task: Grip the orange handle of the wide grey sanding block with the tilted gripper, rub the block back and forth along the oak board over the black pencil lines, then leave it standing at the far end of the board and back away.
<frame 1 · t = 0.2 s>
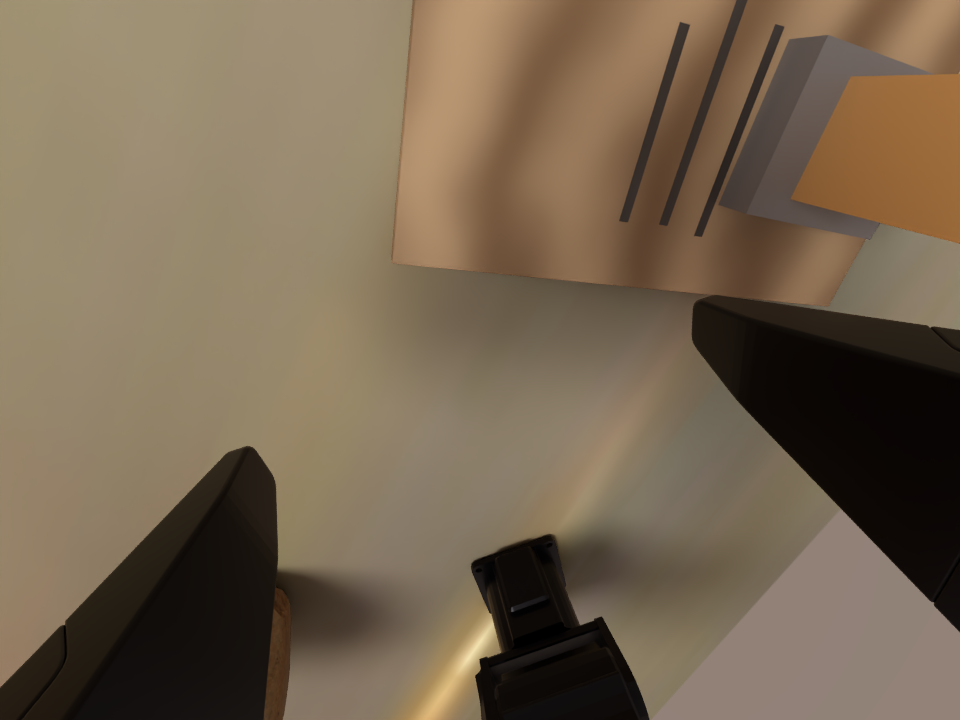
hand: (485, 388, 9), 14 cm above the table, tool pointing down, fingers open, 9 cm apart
board: (686, 119, 22), on the table
bread loaf: (211, 601, 31), on the table
sanding block: (815, 145, 23), point 1 cm above the table, touching board
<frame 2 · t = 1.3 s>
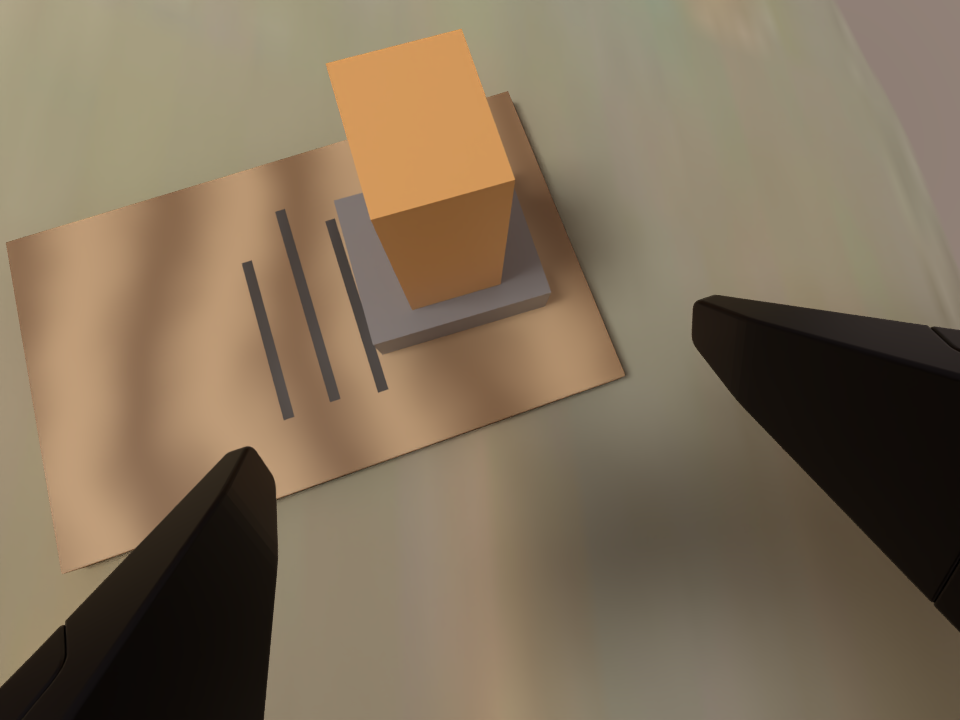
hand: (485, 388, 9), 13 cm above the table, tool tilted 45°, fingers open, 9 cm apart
board: (315, 313, 23), on the table
sanding block: (443, 263, 23), point 1 cm above the table, touching board
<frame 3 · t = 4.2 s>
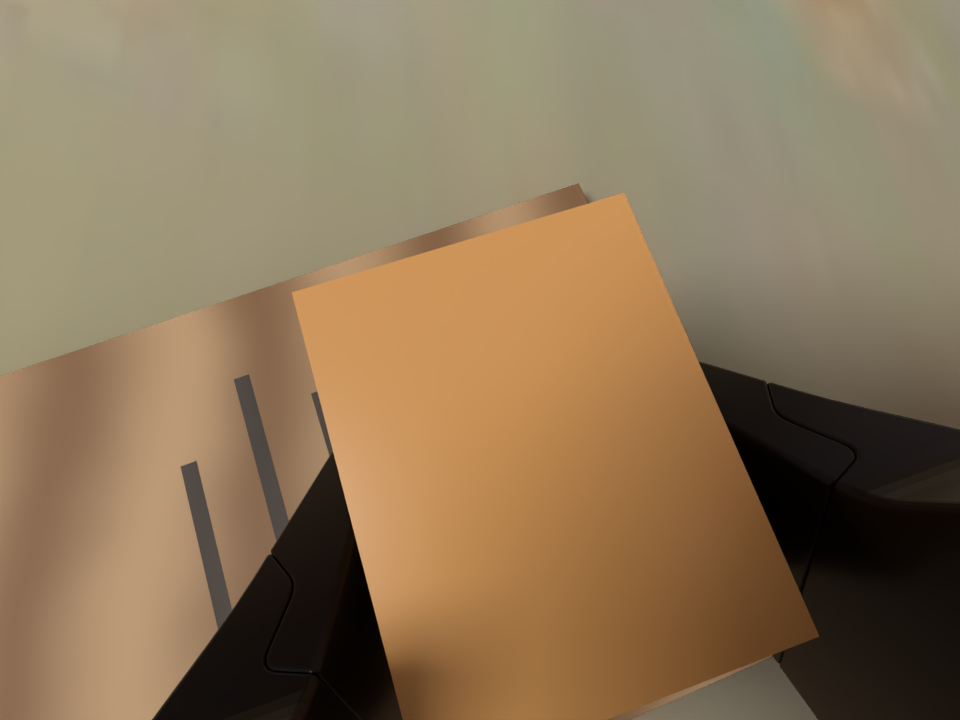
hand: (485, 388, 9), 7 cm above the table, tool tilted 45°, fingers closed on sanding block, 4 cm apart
board: (297, 534, 15), on the table
sanding block: (495, 459, 15), point 1 cm above the table, touching board, gripper
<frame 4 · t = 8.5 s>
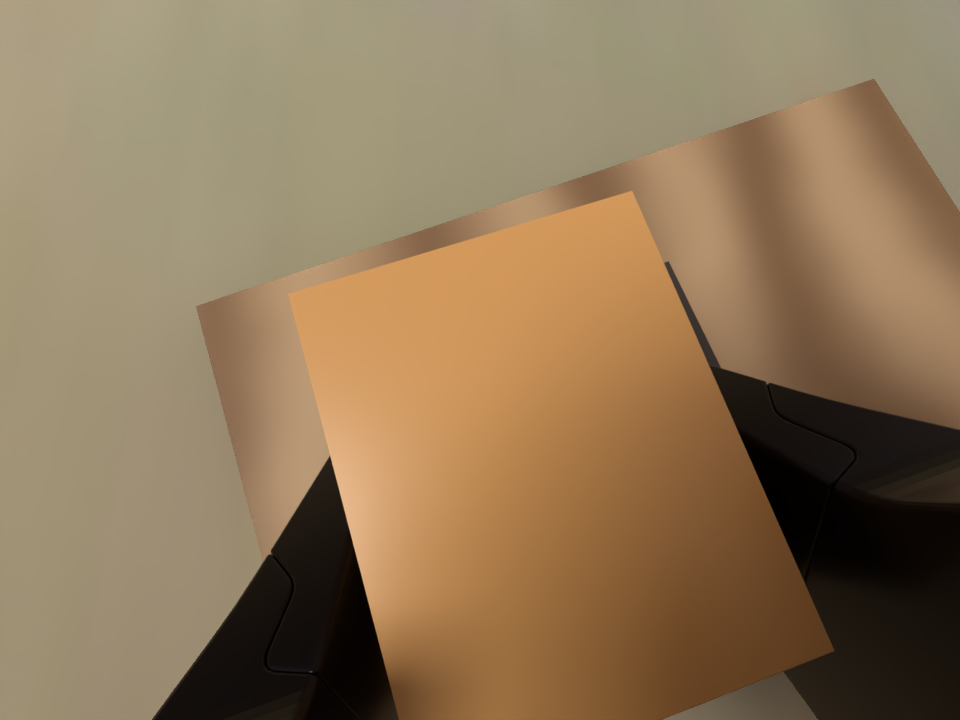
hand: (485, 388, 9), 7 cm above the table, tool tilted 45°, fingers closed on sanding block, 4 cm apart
board: (642, 398, 16), on the table
sanding block: (495, 459, 14), point 1 cm above the table, touching gripper
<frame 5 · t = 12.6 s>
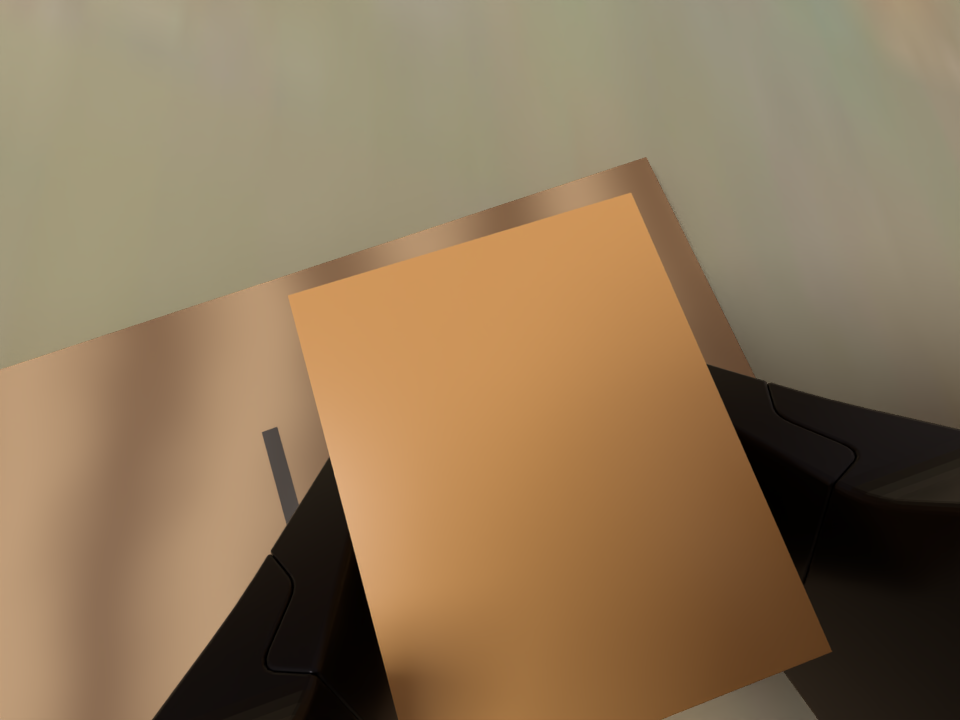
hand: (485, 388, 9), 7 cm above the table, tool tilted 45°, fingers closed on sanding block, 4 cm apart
board: (373, 501, 15), on the table
sanding block: (495, 459, 14), point 1 cm above the table, touching gripper
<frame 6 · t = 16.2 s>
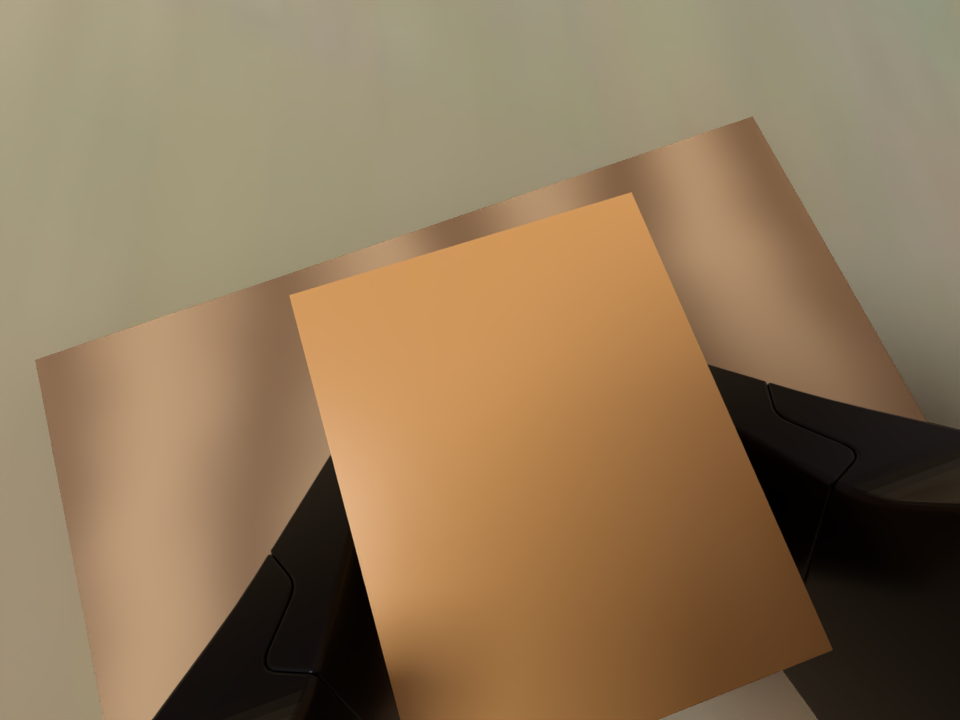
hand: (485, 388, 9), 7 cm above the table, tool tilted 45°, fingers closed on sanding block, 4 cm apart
board: (501, 451, 16), on the table
sanding block: (496, 459, 14), point 1 cm above the table, touching gripper
when the fingers open (7 cm above the table, at t = 19.3 s): sanding block stays where it is, resting on board.
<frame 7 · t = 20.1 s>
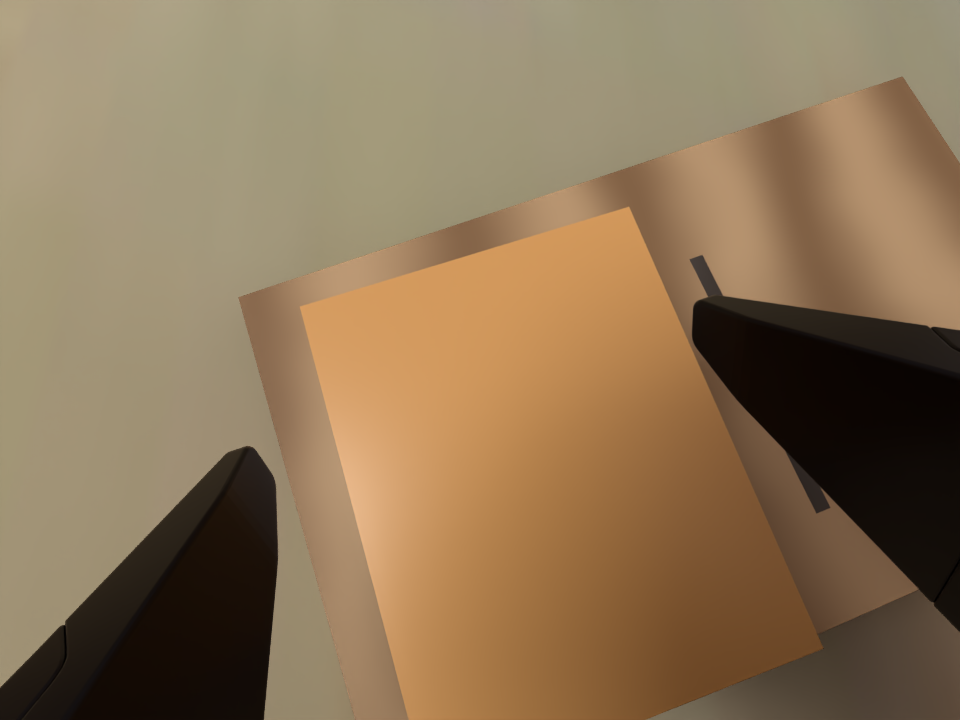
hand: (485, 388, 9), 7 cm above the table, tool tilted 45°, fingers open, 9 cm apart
board: (676, 390, 16), on the table
sanding block: (497, 463, 15), point 1 cm above the table, touching board
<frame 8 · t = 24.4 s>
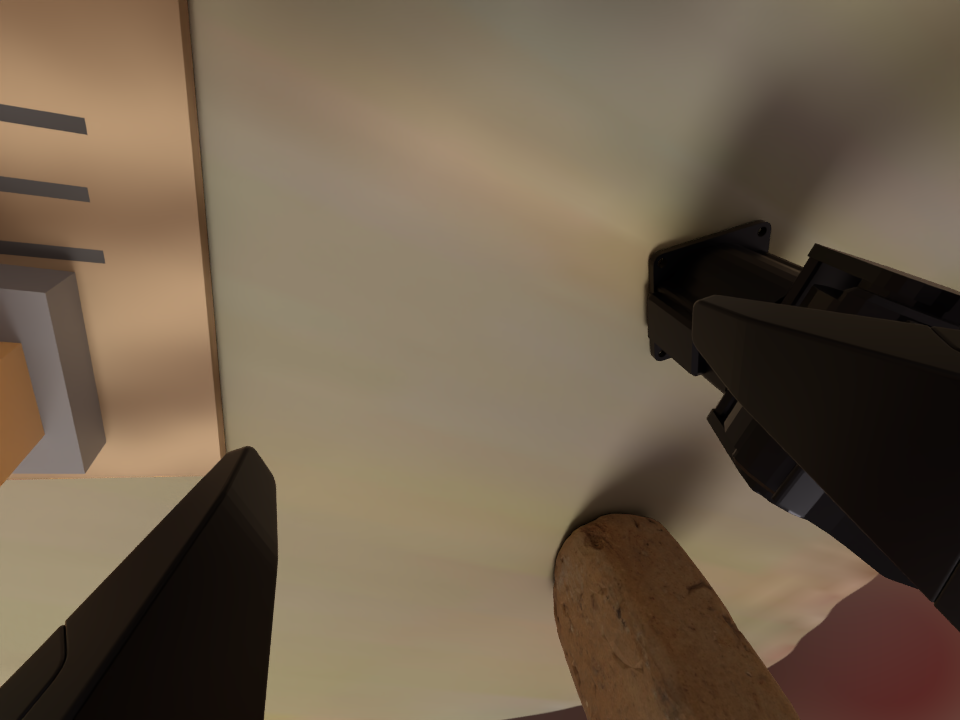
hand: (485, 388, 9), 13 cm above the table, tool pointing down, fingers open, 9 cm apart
bread loaf: (594, 551, 36), on the table
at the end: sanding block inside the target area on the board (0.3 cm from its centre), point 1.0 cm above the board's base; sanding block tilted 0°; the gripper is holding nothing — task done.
